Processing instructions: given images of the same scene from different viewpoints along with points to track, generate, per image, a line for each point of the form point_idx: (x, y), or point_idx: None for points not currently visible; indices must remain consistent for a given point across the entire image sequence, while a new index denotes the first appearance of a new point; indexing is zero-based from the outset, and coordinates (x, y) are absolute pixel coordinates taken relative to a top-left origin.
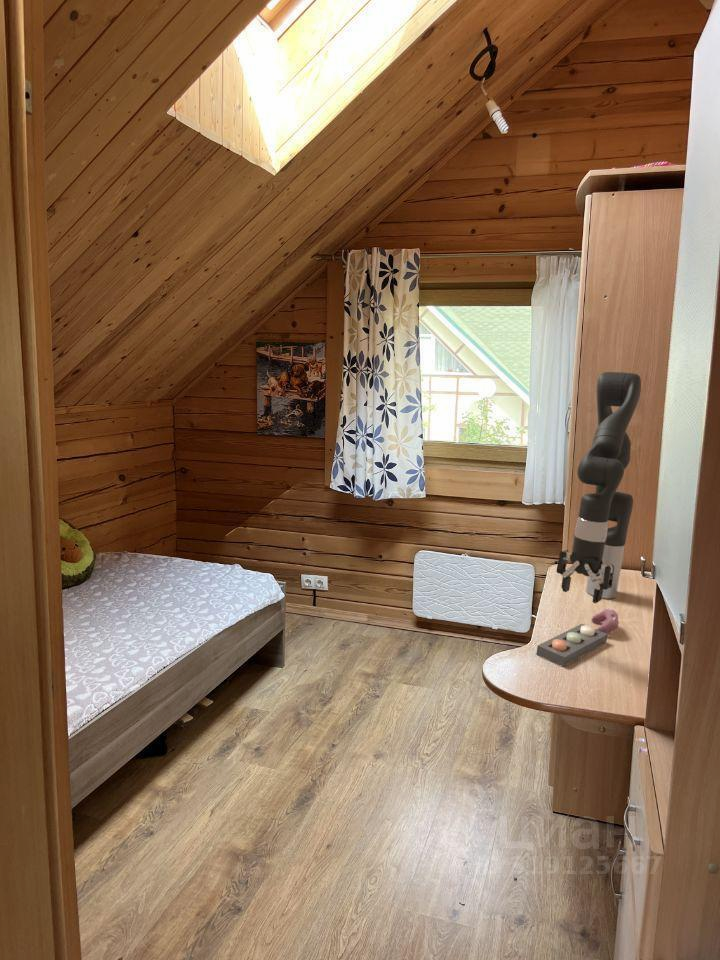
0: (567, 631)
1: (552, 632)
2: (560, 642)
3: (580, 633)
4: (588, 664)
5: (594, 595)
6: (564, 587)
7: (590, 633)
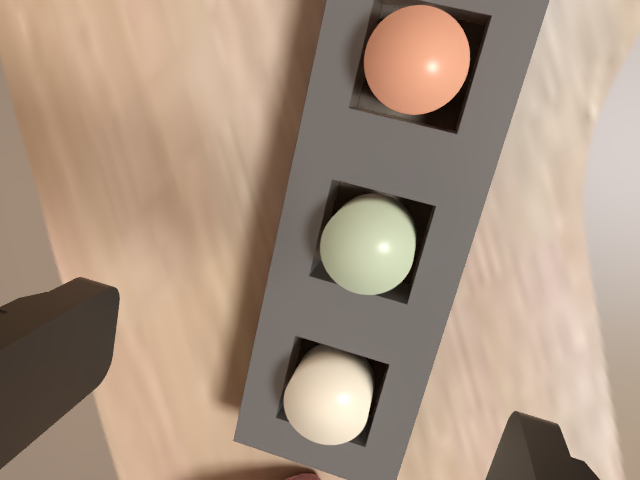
0: (435, 335)
1: (535, 366)
2: (413, 64)
3: (364, 369)
4: (246, 91)
5: (40, 316)
6: (544, 448)
7: (301, 368)
